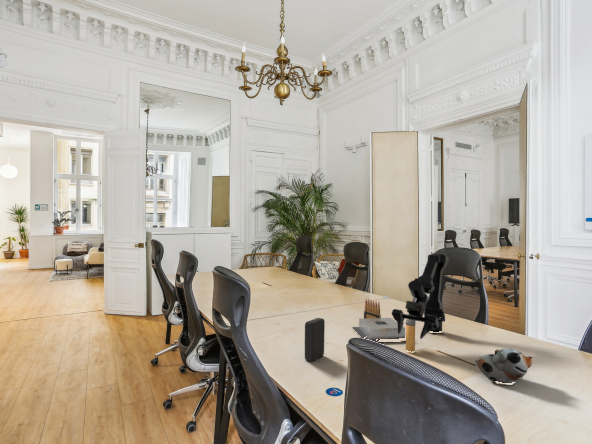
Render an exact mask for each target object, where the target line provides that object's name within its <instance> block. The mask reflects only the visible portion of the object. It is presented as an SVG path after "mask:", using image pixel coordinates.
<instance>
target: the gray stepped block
mask: <svg viewBox="0 0 592 444" xmlns="http://www.w3.org/2000/svg"><path fill="white" fill-rule="evenodd" d="M352 328H353V329H354V330H355V331H356V332H357V333H358V334H357V333H356V332H355V331H354V330H353V329H352ZM351 329H352V330H353V331H354V332H355V333H356V334H357V336H359V335H360V336H361V337H360V336H359V337H360V339H362V338H364V337H366V336H367V337H366V338H365V339H369V340H372V341H375V342H378V341H379V340H380V339H399V338H405V335H406V326H403V327H402V330H401V332H400V334H398V324H397V321H396V320H394V318H391V317H381V318H364V317H363V318H359V319H358V326H352V327H351ZM376 339H378V340H377V341H376ZM378 344H383V343H382V342H381V343H380V342H379V343H378Z"/></svg>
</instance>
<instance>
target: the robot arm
mask: <svg viewBox="0 0 592 444" xmlns="http://www.w3.org/2000/svg"><path fill="white" fill-rule="evenodd" d="M449 261H450V260H449V256H448V255H447V254H446V253H437V252H432V253H431V254H427V261H426V264H425V267H424V270H423V273H422V275H420V276H418V277H415V278H414V280H411V281H410V282H408V284H407V287H408V290H409V292H410V295H411V296H412V297H413V298H412V301H411V300H405V301H406V303H405V307H404V308H405V310H406V312H407V313H405V312H404V311H403V310H402V309H397V308H394V309H392V311H391V316H392V319H393V320H394V321H396V322H397V324H398V334H400V332H401V330H402V327H404V321H405V320H407V319H411V320H415V322H416V321H417V322H422V323H423V327H422V329H421V332H420V336H419V338H420V340H422V339H423V338H424V337H425V336H426V335H427V334H428V333H429V331H433V332H439V331H442V332H443V323H444V322H446V314H445V311H444V309H443V304H442V302H441V291H442V282H443V281H442V280H443V272H444V270H445V269H446V268H447V267H448V263H449ZM428 295H429V296H428Z"/></svg>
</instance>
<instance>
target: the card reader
mask: <svg viewBox="0 0 592 444" xmlns="http://www.w3.org/2000/svg"><path fill="white" fill-rule="evenodd" d="M325 327H326V326H325V319H324V318H322V317H316V318H313V319H310V320H307V321H306V322H304V360H305V361H307V362H314V361H316V360H318V359H319V358H321V357H323V356H324V355H325Z"/></svg>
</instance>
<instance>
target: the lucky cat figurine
mask: <svg viewBox="0 0 592 444" xmlns="http://www.w3.org/2000/svg"><path fill="white" fill-rule="evenodd" d="M474 363H475V364H476V366H477V367H478V369H479V370H480V371H481V373H482V375H483V376H485V378H487V379H488V380H490V381H493V382H494V381H498V382H502V383H512V382H516V381H517V382H518V380H519V379H521V378H523V377H524V376H525V375H526V374H527V373H528V369H530V368H531V367H532V363H533V357H532V356H526V355H524V353H522V352H521V351H519V350H517V349H515V348H502V349H495V350H494V353H490V354H489V353H488V354H485V355H483V356H481V357H479V358H478V359H475V361H474ZM517 382H516V383H517Z"/></svg>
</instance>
